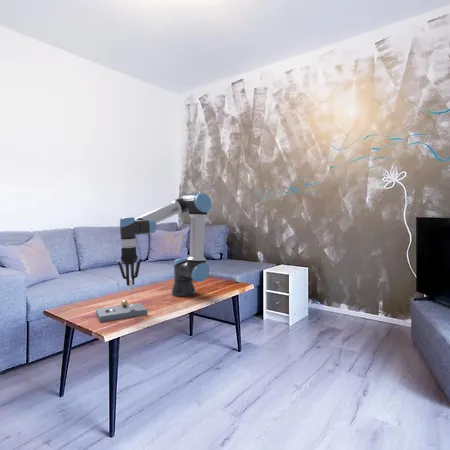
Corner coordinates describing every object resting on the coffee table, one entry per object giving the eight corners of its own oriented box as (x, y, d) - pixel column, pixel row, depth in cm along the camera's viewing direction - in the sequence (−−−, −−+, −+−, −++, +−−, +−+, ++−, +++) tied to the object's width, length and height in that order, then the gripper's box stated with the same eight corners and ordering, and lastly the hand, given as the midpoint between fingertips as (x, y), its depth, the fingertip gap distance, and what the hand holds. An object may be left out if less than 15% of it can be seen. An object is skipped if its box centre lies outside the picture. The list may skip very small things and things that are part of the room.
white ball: (134, 309, 165) (134, 303, 165) (136, 310, 162) (136, 304, 162) (128, 310, 164) (128, 304, 164) (129, 311, 161) (129, 305, 161)
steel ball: (115, 308, 165) (108, 308, 164) (116, 310, 162) (109, 310, 161) (113, 315, 165) (107, 314, 163) (114, 316, 162) (108, 316, 161)
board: (140, 307, 177) (140, 302, 177) (147, 314, 165) (146, 309, 165) (96, 313, 166) (96, 309, 166) (99, 321, 154) (99, 316, 154)
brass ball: (127, 305, 173) (126, 299, 173) (128, 306, 170) (128, 300, 170) (120, 306, 171) (120, 300, 171) (122, 307, 168) (121, 301, 168)
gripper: (139, 245, 173) (141, 287, 174) (114, 247, 166) (116, 291, 168) (142, 246, 166) (145, 290, 167) (116, 248, 160) (119, 294, 161)
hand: (130, 291), depth 168 cm, fingers closed
